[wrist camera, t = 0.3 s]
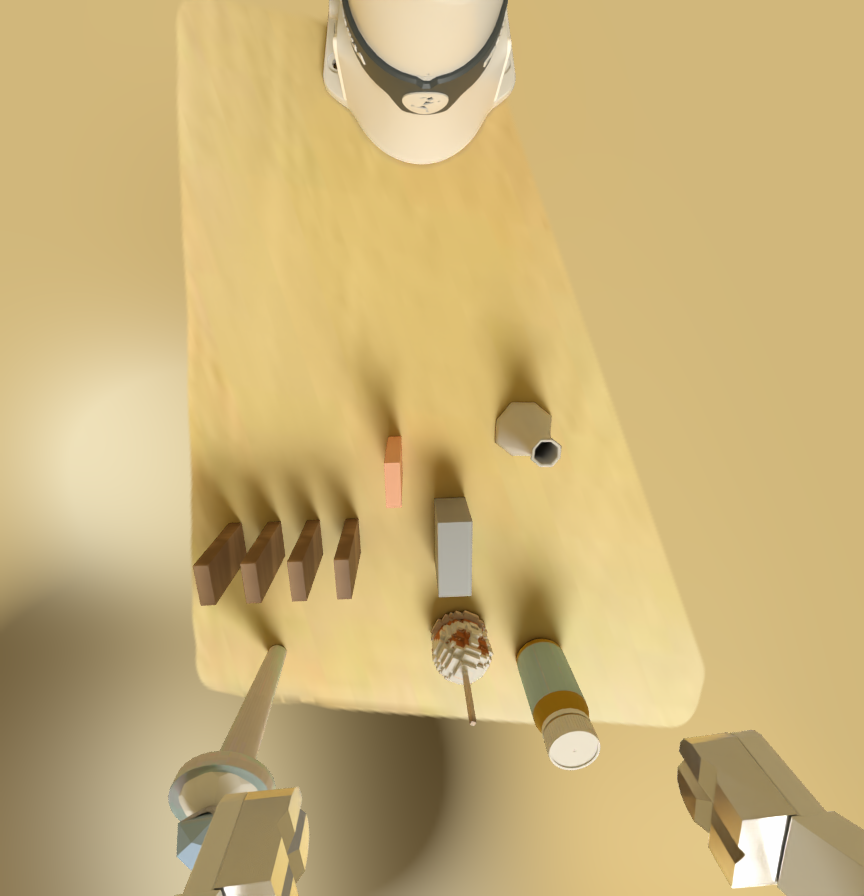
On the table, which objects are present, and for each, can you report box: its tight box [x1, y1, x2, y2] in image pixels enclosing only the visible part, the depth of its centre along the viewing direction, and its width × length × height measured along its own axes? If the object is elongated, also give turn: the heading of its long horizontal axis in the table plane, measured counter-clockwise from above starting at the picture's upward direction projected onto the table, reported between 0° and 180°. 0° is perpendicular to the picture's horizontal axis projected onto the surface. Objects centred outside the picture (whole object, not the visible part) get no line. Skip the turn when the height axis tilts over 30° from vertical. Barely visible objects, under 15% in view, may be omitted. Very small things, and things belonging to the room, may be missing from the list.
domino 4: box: [334, 519, 361, 599], centre depth 54 cm, size 2×5×10 cm, turn 1°
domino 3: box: [287, 520, 323, 601], centre depth 53 cm, size 2×5×10 cm, turn 1°
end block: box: [434, 497, 472, 597], centre depth 56 cm, size 10×4×7 cm, turn 1°
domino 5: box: [384, 436, 403, 508], centre depth 51 cm, size 2×5×10 cm, turn 1°
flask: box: [495, 402, 561, 467], centre depth 50 cm, size 7×7×10 cm
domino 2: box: [240, 521, 285, 603], centre depth 53 cm, size 2×5×10 cm, turn 1°
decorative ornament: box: [431, 610, 493, 726], centre depth 57 cm, size 8×8×15 cm
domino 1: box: [193, 523, 247, 606], centre depth 53 cm, size 2×5×10 cm, turn 1°
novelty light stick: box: [169, 645, 286, 871], centre depth 51 cm, size 10×10×25 cm
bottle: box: [516, 639, 600, 770], centre depth 59 cm, size 7×7×15 cm
